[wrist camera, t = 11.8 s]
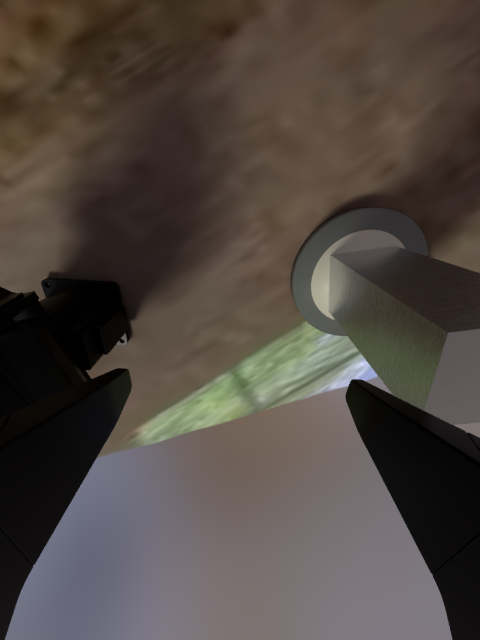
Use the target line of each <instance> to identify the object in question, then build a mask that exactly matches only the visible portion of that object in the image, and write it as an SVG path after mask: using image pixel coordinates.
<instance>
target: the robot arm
mask: <svg viewBox="0 0 480 640" xmlns="http://www.w3.org/2000/svg"><path fill="white" fill-rule="evenodd" d="M48 283H49V284H50V286H49V285H48ZM41 285H42V288H43V290H44V293H45V296H46V298H45V299H43V300H41V301H38V299H39V297H38V296H37V294H36V293H35V291H32V292H28V293H15V292H10V291H8V290H6V289H4V288H2V287H0V640H5V637H6V634H7V631H8V628H9V624H10V621H11V618H12V615H13V612H14V609H15V606H16V603H17V600H18V597H19V595H20V592H21V590H22V588H23V585H24V583H25V581H26V579H27V577H28V575H29V573H30V572H31V570H32V568H33V565H34V564H35V563H36V561H37V559H38V558H39V556H40V554H41V553H42V551H43V549H44V547H45V546H46V544H47V542H48V540H49V539H50V537H51V535H52V534H53V532H54V530H55V528H56V527H57V525H58V523H59V521H60V520H61V518H62V516H63V514H64V513H65V511H66V509H67V508H68V506H69V504H70V503H71V501H72V499H73V497H74V496H75V493H76V492H77V490H78V489H79V487H80V485H81V484H82V482H83V480H84V478H85V477H86V475H87V473H88V472H89V470H90V468H91V466H92V465H93V463H94V461H95V460H96V458H97V456H98V454H99V453H100V451H101V449H102V448H103V446H104V444H105V442H106V441H107V439H108V437H109V435H110V434H111V432H112V430H113V429H114V427H115V425H116V423H117V421H118V419H119V417H120V415H121V412H122V410H123V408H124V405H125V403H126V401H127V399H128V396H129V394H130V392H131V388H132V383H131V378H130V374H129V370H128V369H124V368H117V369H115V370H112V371H110V372H107V373H105V374H103V375H100V376H98V377H96V378H93V379H91V378H90V376H89V375H88V373H87V372H86V370H90V369H91V368H92V367H93V366H94V365H95V364H96V362H97V361H98V360H99V359H100V358H101V357H102V355H103V354H104V355H107V354H108V353H109V352H110V351H111V350H112V349H113V348H114V346H115V345H126V344H127V343H128V341H129V337H128V332H127V331H128V329H129V328H128V323H127V317H126V312H125V307H124V306H123V305H122V300H121V295H120V290H119V286H118V284H117V283H115V282H108V281H90V280H72V279H55V278H47V279H44V280H43V281H42V282H41ZM111 286H112V287H114V290H113V289H111ZM122 339H123V340H124V341H123V340H122ZM346 402H347V404H348V407H349V409H350V412H351V415H352V417H353V420H354V422H355V425H356V427H357V430H358V432H359V434H360V436H361V438H362V440H363V442H364V444H365V446H366V448H367V450H368V452H369V454H370V456H371V458H372V460H373V462H374V463H375V465H376V467H377V469H378V471H379V473H380V475H381V477H382V479H383V481H384V483H385V485H386V487H387V489H388V491H389V492H390V494H391V496H392V498H393V500H394V502H395V504H396V506H397V508H398V510H399V512H400V514H401V516H402V518H403V519H404V521H405V524H406V525H407V527H408V529H409V531H410V533H411V535H412V537H413V539H414V541H415V543H416V545H417V547H418V549H419V551H420V552H421V554H422V556H423V558H424V560H425V562H426V564H427V566H428V568H429V570H430V572H431V573H432V574H433V578H434V580H435V582H436V584H437V586H438V588H439V590H440V593H441V596H442V599H443V602H444V605H445V609H446V613H447V618H448V622H449V626H450V631H451V634H452V639H453V640H480V438H479V437H477V436H475V435H473V434H471V433H466V432H465V431H464V430H462V429H460V428H458V427H455V426H454V425H452V424H450V423H448V422H446V421H444V420H442V419H440V418H438V417H436V416H434V415H432V414H430V413H428V412H426V411H424V410H422V409H420V408H418V407H416V406H414V405H412V404H410V403H408V402H406V401H404V400H402V399H399V398H397V397H395V396H393V395H391V394H389V393H387V392H385V391H383V390H381V389H379V388H377V387H375V386H373V385H371V384H369V383H367V382H365V381H363V380H357V379H353V380H351V382H350V384H349V387H348V389H347V392H346Z"/></svg>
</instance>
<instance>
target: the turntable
mask: <svg viewBox="0 0 480 640" xmlns="http://www.w3.org/2000/svg"><path fill="white" fill-rule="evenodd" d="M390 246H397V247H400V248H403V249H407V250H410V251H413V252H416V253H419V254H422V255H425V256H428V247H427V242H426V239H425V237H424V234H423V233H422V231H421V230H420V228H419V227H418V226H417V224H416V223H415V222H414V221H413V220H411V219H410V218H409V217H407V216H406V215H404V214H402V213H400V212H397V211H394V210H391V209H384V208H375V207H363V208H356V209H352V210H348V211H345V212H342V213H340V214H338V215H335V216H334V217H332V218H330V219H329V220H327V221H325V222H324V223H323V224H321V225H320V226H319V227H318V228H317V229H316V230H315V231H313V232H312V233H311V235H310V236H309V237H308V238H307V239H306V240H305V242H304V243H303V245H302V246H301V248H300V250H299V252H298V254H297V256H296V258H295V261H294V264H293V268H292V272H291V291H292V296H293V299H294V302H295V304H296V305H297V307H298V309H299V311H300V313H301V315H302V316H303V317H304V319H305V320H306V321H307V322H308V323H309V324H311V325H312V326H313V327H315V328H316V329H318V330H320V331H323V332H325V333H328V334H332V335H339V336H347V335H346V333H345V332H344V331H343V329H342V328H341V327H340V325H339V324H338V323H337V322H336V320H335V319H334V318H333V316H332V315H331V314H330V312H329V311H328V309H329V278H330V255H335V254H342V253H348V252H355V251H362V250H369V249H376V248H383V247H390Z"/></svg>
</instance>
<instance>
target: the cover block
mask: <svg viewBox="0 0 480 640" xmlns="http://www.w3.org/2000/svg"><path fill="white" fill-rule="evenodd" d="M328 311H329V312H330V314H331V315H332V316H333V318H334V319H335V320H336V322H337V323H338V324H339V325H340V327H341V328H342V329H343V331H344V332H345V333H346V335H347V336H348V337H349V338H350V340H351V341H352V342H353V344H354V345H355V346H356V348H357V349H358V350H359V351H360V353H361V354H362V355H363V357H364V358H365V359H366V361H367V362H368V363H369V364H370V366H371V367H372V368H373V370H374V371H375V372H376V373H377V375H378V376H379V377H380V379H381V380H382V381H383V383H384V384H385V385H386V386H387V388H388V389H389V390H390V391H391V393H392V394H393V396H395V397H397V398H399V399H402V400H404V401H406V402H408V403H410V404H412V405H414V406H416V407H418V408H420V409H422V410H424V411H426V412H428V413H430V414H432V415H434V416H436V417H438V418H440V419H442V420H444V421H446V422H448V423H450V424H452V425H455V424H466V423H476V422H480V273H478V272H474V271H471V270H468V269H465V268H462V267H459V266H456V265H453V264H450V263H447V262H444V261H440V260H437V259H434V258H431V257H428V256H425V255H422V254H419V253H416V252H413V251H410V250H407V249H403V248H400V247H397V246H390V247H383V248H376V249H369V250H362V251H355V252H348V253H342V254H335V255H330V278H329V309H328Z"/></svg>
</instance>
